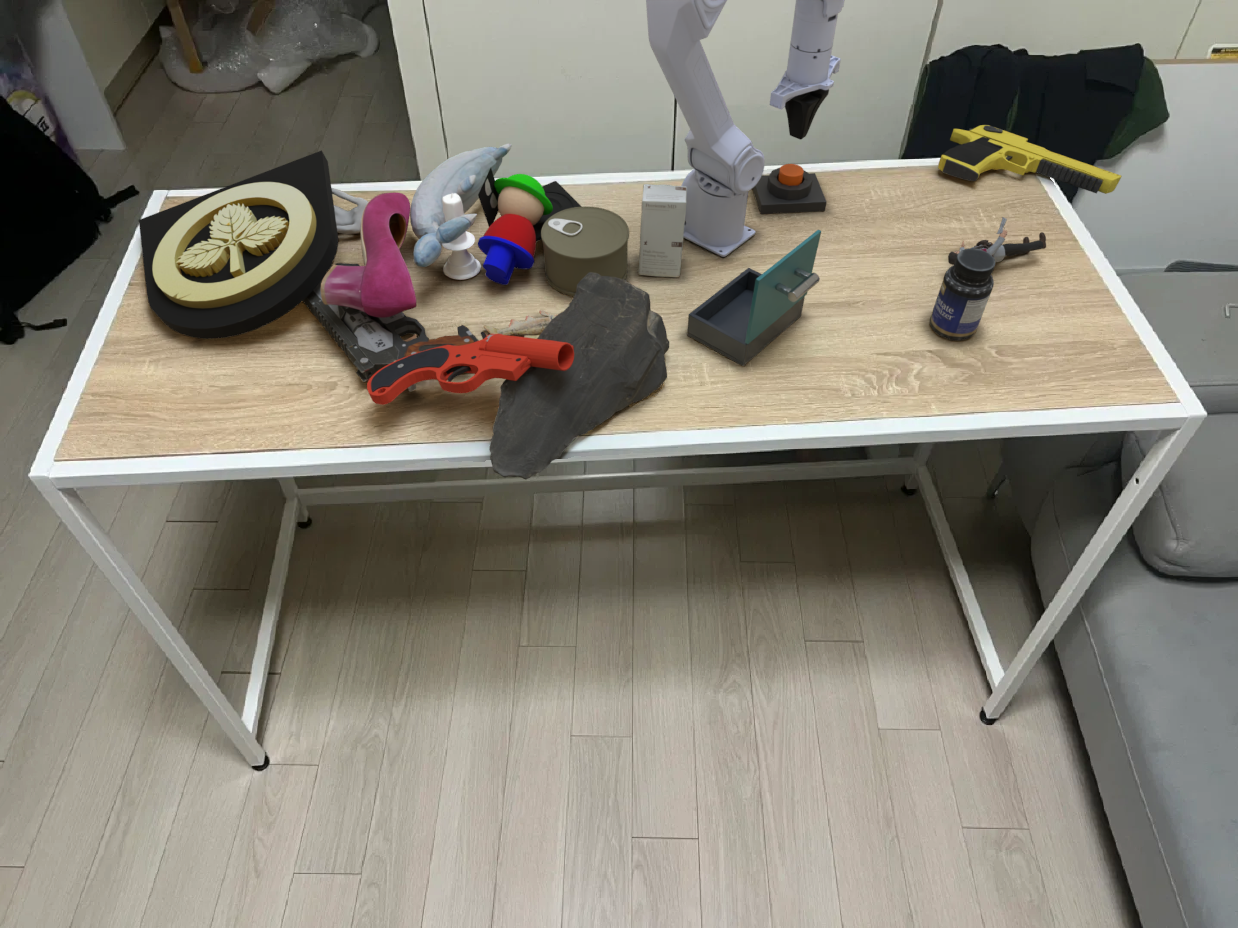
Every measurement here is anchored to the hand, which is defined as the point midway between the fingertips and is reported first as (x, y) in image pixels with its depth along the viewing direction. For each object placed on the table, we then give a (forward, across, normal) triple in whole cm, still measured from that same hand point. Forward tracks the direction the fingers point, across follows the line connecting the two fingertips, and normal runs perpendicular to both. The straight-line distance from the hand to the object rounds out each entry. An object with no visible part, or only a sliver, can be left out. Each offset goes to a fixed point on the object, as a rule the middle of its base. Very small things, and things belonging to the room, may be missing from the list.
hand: (797, 135), depth 137 cm
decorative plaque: (+6, -75, +33) cm, 82 cm away
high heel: (+3, -57, +32) cm, 66 cm away
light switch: (+8, -37, +23) cm, 44 cm away
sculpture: (-1, -49, +18) cm, 52 cm away
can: (+10, -35, +11) cm, 38 cm away
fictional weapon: (+9, -54, +21) cm, 58 cm away
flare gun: (+2, -72, +1) cm, 72 cm away
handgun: (+9, +21, -25) cm, 34 cm away
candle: (+10, -46, +24) cm, 53 cm away
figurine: (+7, -58, +55) cm, 80 cm away
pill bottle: (+10, -11, -34) cm, 37 cm away
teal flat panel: (+1, -29, -17) cm, 34 cm away
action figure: (+8, +11, -35) cm, 37 cm away
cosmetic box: (+10, -27, +4) cm, 29 cm away
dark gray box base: (+10, -29, -13) cm, 34 cm away
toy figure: (+8, -46, +18) cm, 50 cm away
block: (+10, 0, 0) cm, 10 cm away
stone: (+5, -41, -4) cm, 41 cm away
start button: (+7, 0, 0) cm, 7 cm away
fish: (+9, -48, +10) cm, 49 cm away
